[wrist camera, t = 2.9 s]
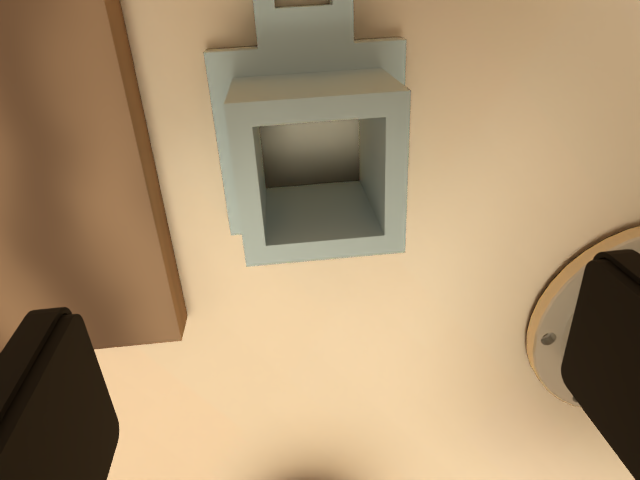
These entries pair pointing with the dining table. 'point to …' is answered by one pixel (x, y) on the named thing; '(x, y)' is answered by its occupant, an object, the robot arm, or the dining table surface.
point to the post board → (80, 178)
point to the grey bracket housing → (307, 107)
